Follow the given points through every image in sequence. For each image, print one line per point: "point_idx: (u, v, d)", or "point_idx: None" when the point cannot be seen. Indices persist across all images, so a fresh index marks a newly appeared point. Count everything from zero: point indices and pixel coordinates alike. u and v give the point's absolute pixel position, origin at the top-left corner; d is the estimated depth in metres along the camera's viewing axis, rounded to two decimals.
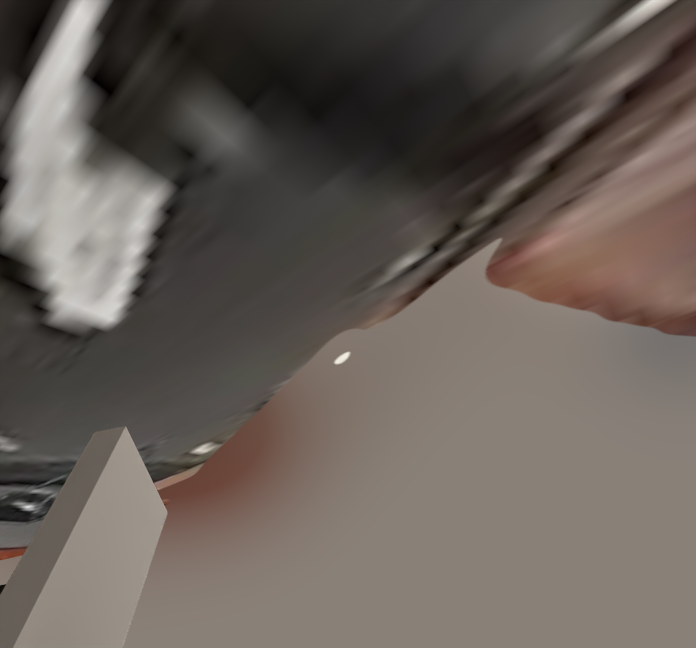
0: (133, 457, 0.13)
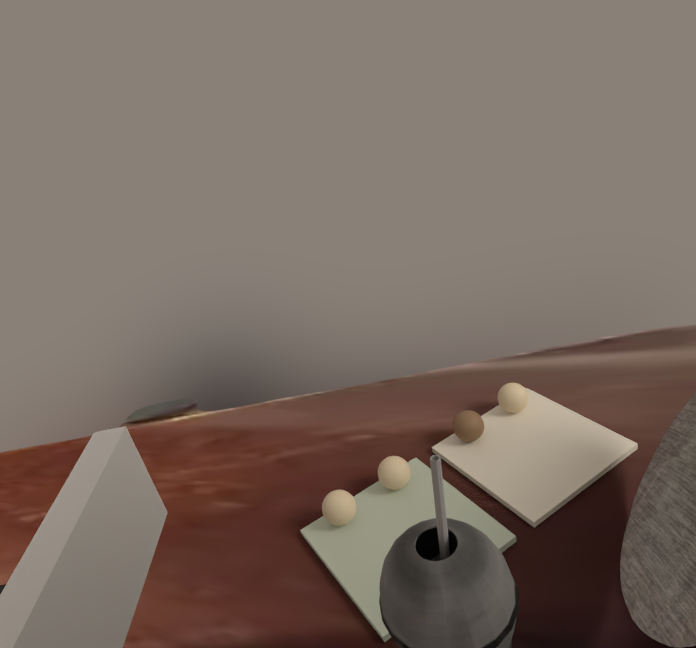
0: (133, 457, 0.13)
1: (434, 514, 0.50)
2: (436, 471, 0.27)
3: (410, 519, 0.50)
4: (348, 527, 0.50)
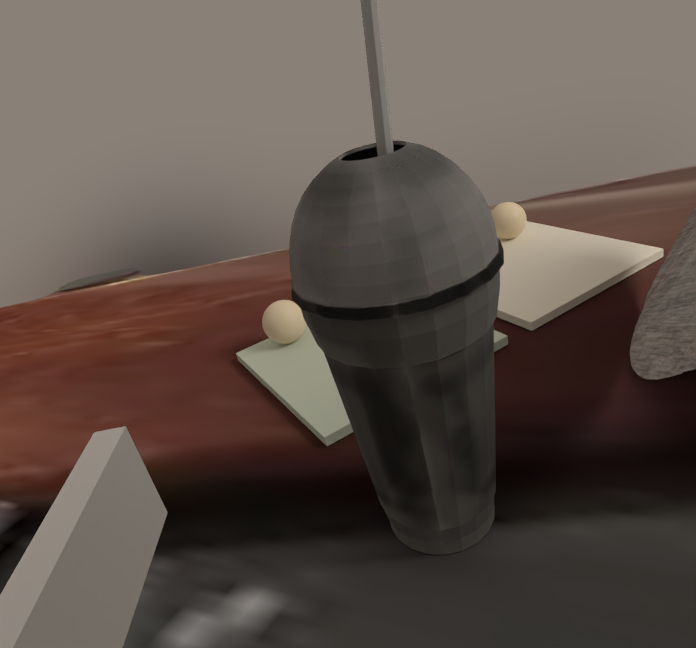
0: (133, 457, 0.13)
1: None
2: (369, 1, 0.17)
3: None
4: (295, 346, 0.40)
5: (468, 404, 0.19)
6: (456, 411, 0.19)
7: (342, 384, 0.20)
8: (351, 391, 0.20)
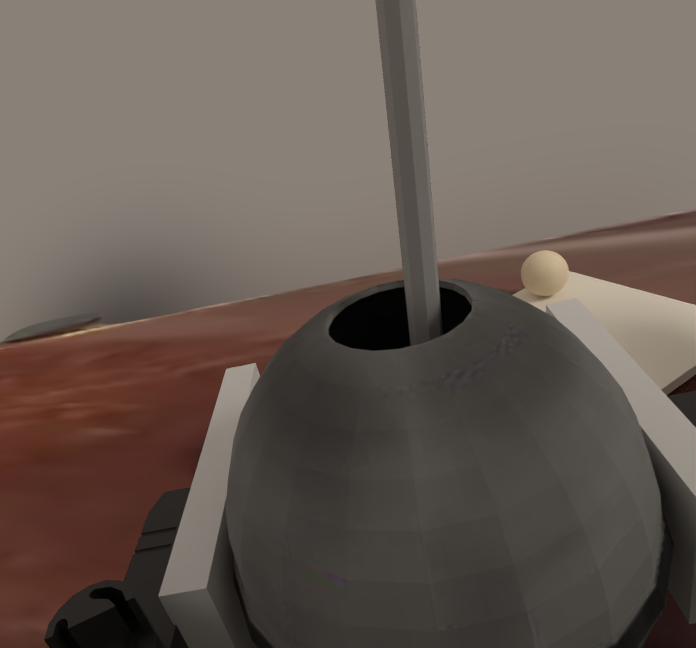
0: None
1: None
2: None
3: None
4: None
5: None
6: None
7: None
8: None
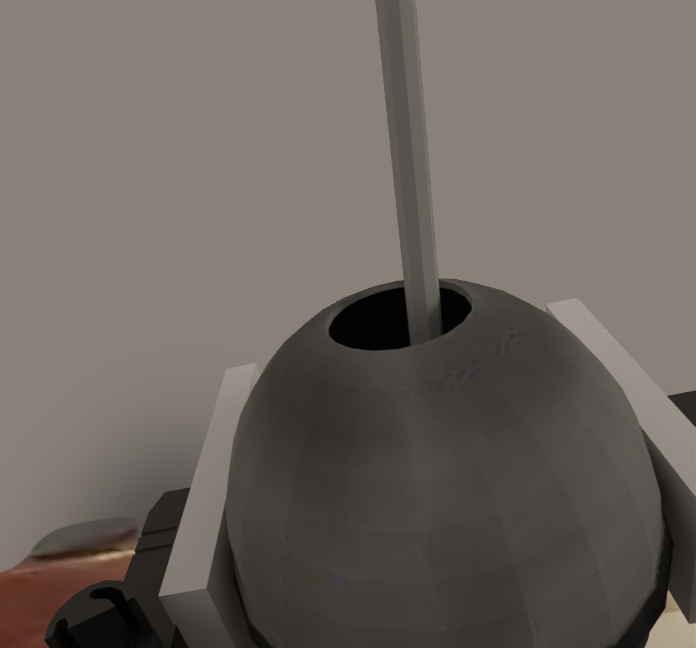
0: None
1: None
2: None
3: None
4: None
5: None
6: None
7: None
8: None
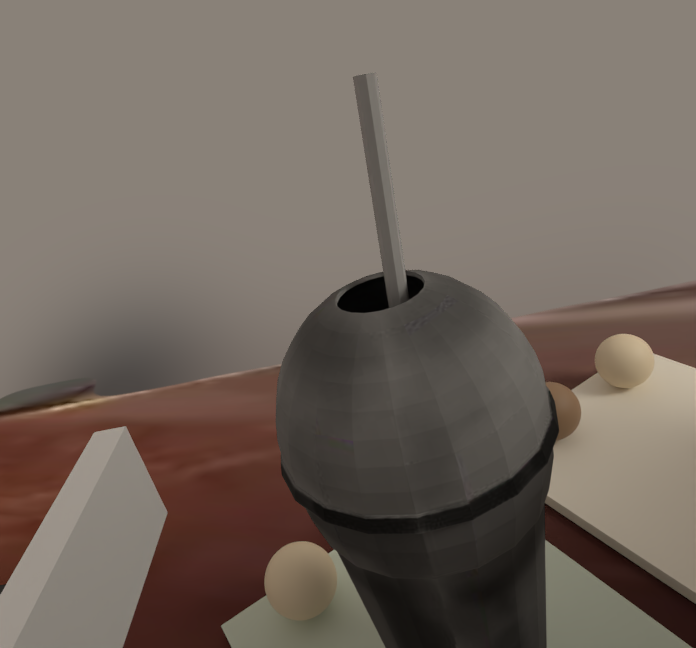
0: (133, 457, 0.13)
1: None
2: (368, 103, 0.12)
3: None
4: (320, 622, 0.24)
5: (516, 602, 0.15)
6: (502, 613, 0.15)
7: (351, 575, 0.15)
8: (364, 586, 0.15)
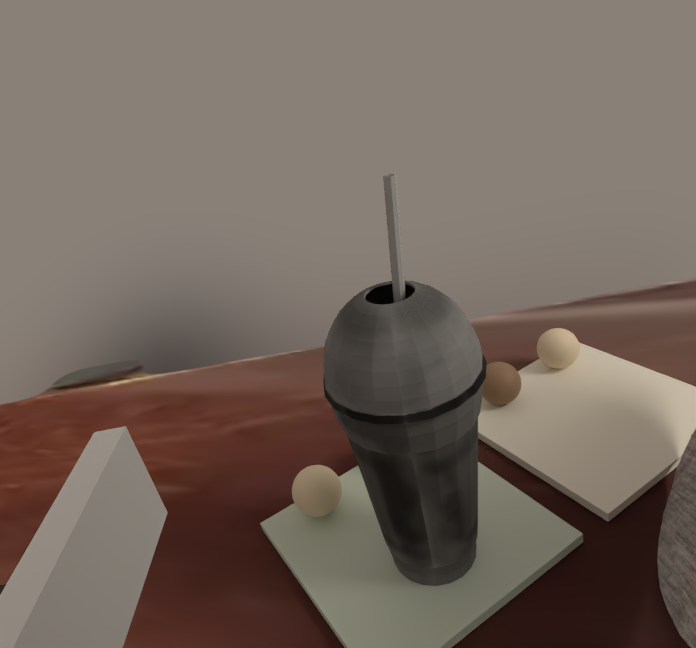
0: (133, 457, 0.13)
1: None
2: (390, 191, 0.23)
3: None
4: (329, 519, 0.35)
5: (457, 478, 0.26)
6: (448, 483, 0.26)
7: (361, 459, 0.26)
8: (368, 465, 0.26)
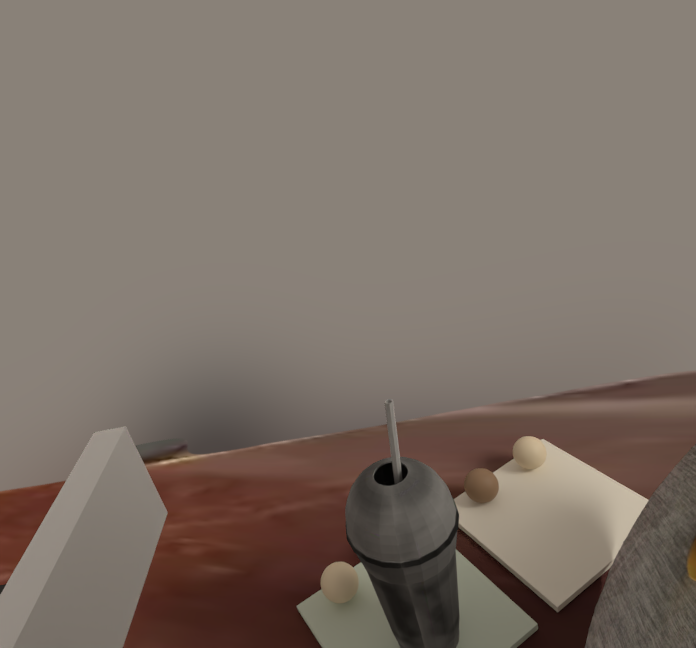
0: (133, 457, 0.13)
1: None
2: (389, 411, 0.34)
3: None
4: (349, 604, 0.46)
5: (440, 595, 0.37)
6: (434, 599, 0.36)
7: (373, 581, 0.37)
8: (378, 586, 0.37)
